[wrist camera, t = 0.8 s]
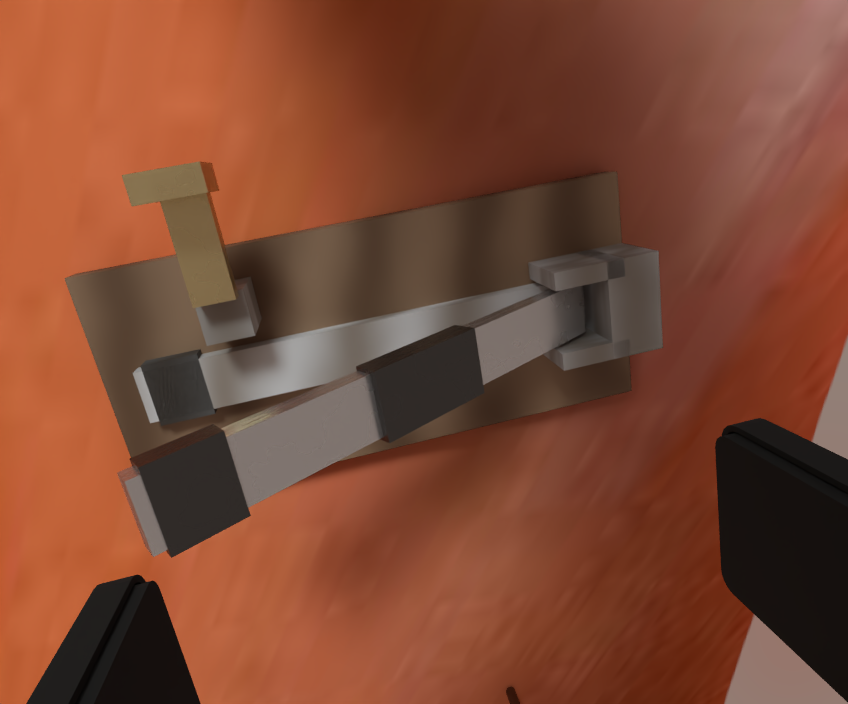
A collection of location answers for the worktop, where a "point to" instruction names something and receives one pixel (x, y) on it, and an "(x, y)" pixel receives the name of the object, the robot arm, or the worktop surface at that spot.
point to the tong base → (374, 311)
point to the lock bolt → (190, 226)
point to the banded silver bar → (334, 421)
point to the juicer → (512, 696)
